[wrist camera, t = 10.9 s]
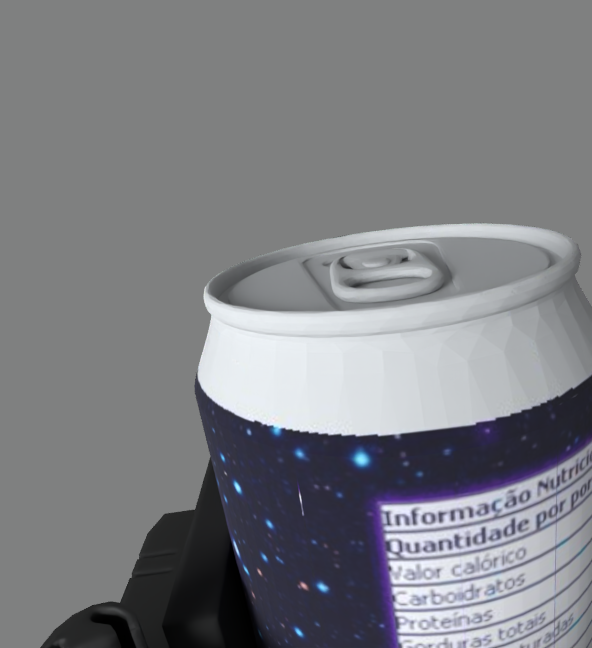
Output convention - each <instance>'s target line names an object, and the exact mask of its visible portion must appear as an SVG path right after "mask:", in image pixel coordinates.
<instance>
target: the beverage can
mask: <svg viewBox="0 0 592 648" xmlns="http://www.w3.org/2000/svg"><path fill="white" fill-rule="evenodd" d="M580 258H581V253H580V249H579V246H578V244H577V243H575V242H574V241H573V240H572V239H571V238H570V237H568V236H566V235H564V234H562V233H559V232H556V231H553V230H548V229H543V228H537V227H530V226H523V225H505V224H482V223H478V224H445V225H430V226H419V227H405V228H396V229H387V230H380V231H372V232H365V233H357V234H351V235H346V236H340V237H335V238H329V239H324V240H318V241H314V242H310V243H305V244H301V245H297V246H293V247H289V248H285V249H281V250H277V251H275V252H271V253H268V254H265V255H261V256H259V257H255V258H252V259H249V260H247V261H244V262H242V263H240V264H237V265H235V266H233V267H230V268H229V269H226V270H224V271H223V272H221V273H219V274H218V275H217V276H215V277H214V278H213V279H212V280H210V282H209V283H208V284H207V286H206V287H205V290H204V302H205V305H206V308H207V310H208V311H209V313H210V314H212V315H211V316H212V317H211V322H210V327H209V331H208V335H207V338H206V342H205V345H204V349H203V353H202V356H201V360H200V363H199V367H198V370H197V374H196V379H195V394H196V399H197V403H198V407H199V411H200V415H201V419H202V423H203V427H204V431H205V436H206V440H207V444H208V448H209V451H210V455H211V460H212V464H213V468H214V472H215V476H216V481H217V485H218V489H219V493H220V497H221V501H222V505H223V509H224V513H225V517H226V521H227V525H228V530H229V534H230V538H231V542H232V546H233V550H234V554H235V558H236V562H237V566H238V570H239V574H240V579H241V583H242V587H243V591H244V595H245V599H246V603H247V607H248V611H249V615H250V619H251V623H252V628H253V632H254V636H255V640H256V644H257V648H592V307H591V305H590V303H589V301H588V300H587V298H586V296H585V295H584V293H583V291H582V290H581V288H580V286H579V284H578V282H577V280H576V278H575V274H576V273H577V271H578V268H579V264H580Z"/></svg>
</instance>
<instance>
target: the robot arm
mask: <svg viewBox="0 0 592 648" xmlns="http://www.w3.org/2000/svg"><path fill="white" fill-rule="evenodd" d="M41 648H257V644H256V640H255V636H254V632H253V628H252V623H251V619H250V615H249V611H248V607H247V603H246V599H245V595H244V591H243V587H242V583H241V579H240V574H239V570H238V566H237V562H236V558H235V554H234V550H233V546H232V542H231V538H230V534H229V530H228V525H227V521H226V517H225V513H224V509H223V505H222V501H221V497H220V493H219V489H218V485H217V481H216V476H215V472H214V468H213V464H212V460H211V457H210V460H209V464H208V467H207V471H206V474H205V477H204V481H203V484H202V488H201V492H200V495H199V499H198V502H197V505H196V509H195V510H189V511H182V512H175V513H168V514H164V515H163V516H162V518H161V519H160V520H159V521H158V522H157V524H156V525H155V526H154V527H153V528H152V529H151V530H150V531H149V533H148V534H147V537H146V539H145V542H144V544H143V547H142V549H141V552H140V554H139V559H138V560H137V562H136V564H135V567H134V569H133V572H132V578H130V579H129V582H128V584H127V587H126V589H125V592H124V594H123V597H122V599H121V602H120V603H117V602H106V603H101V604H97V605H92V606H90V607H88V608H86V609H84V610H82V611H80V612H78V613H76V614H74V615H72V616H71V617H70V618H69V619H67V620H66V621H65V622H64V623H63V624H61V625H60V626H59V627H58V628H56V629H55V630H54V631H53V633H52V634H51V635H50V636H49V638H48V639H47V640H46V641H45V642H44V644H43V645H42V646H41Z"/></svg>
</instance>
